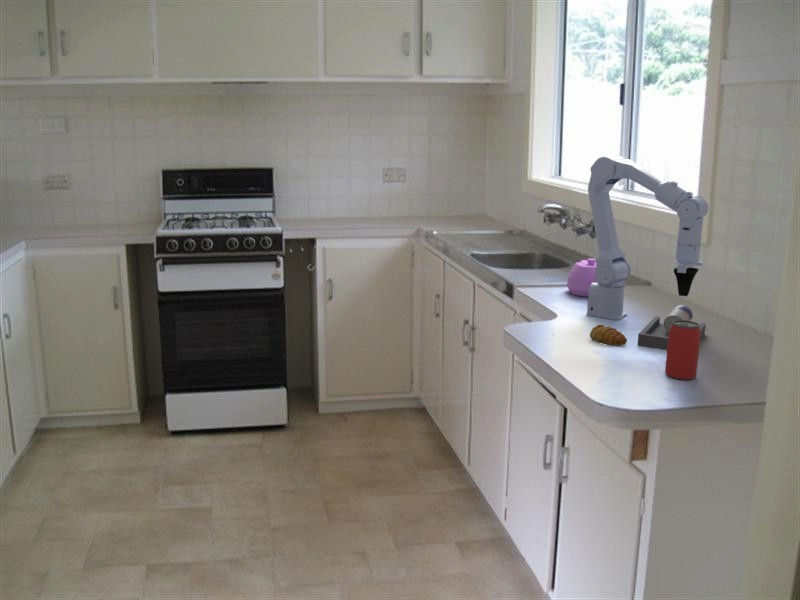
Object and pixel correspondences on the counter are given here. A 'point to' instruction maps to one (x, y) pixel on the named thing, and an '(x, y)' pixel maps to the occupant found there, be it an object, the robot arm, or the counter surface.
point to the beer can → (683, 350)
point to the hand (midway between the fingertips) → (683, 295)
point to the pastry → (607, 336)
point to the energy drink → (677, 316)
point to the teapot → (582, 277)
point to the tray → (658, 335)
